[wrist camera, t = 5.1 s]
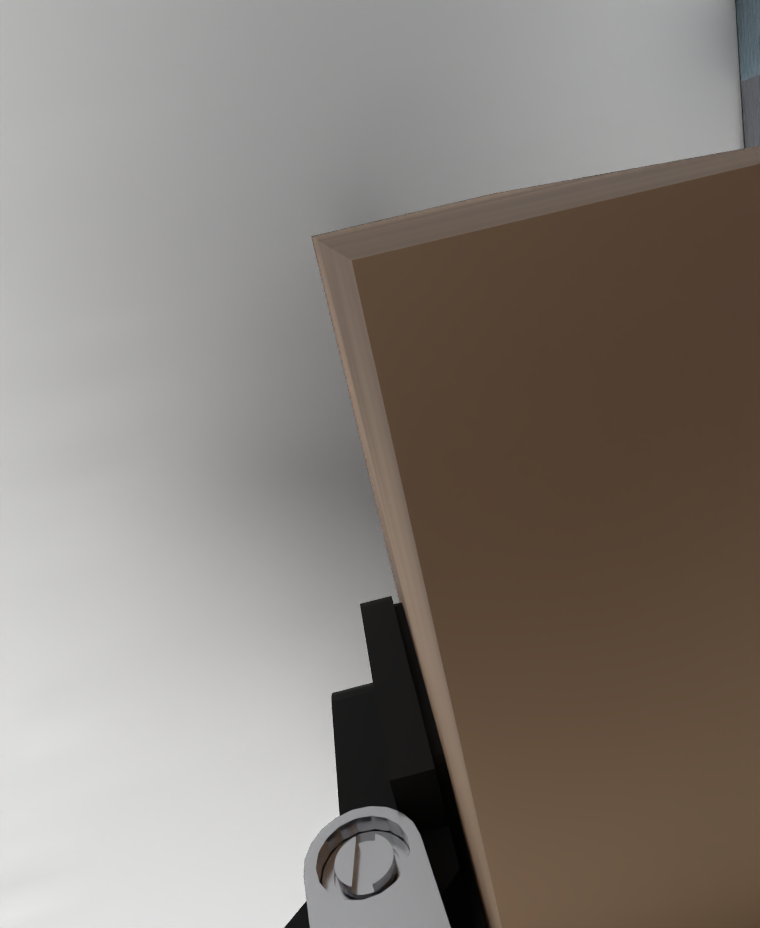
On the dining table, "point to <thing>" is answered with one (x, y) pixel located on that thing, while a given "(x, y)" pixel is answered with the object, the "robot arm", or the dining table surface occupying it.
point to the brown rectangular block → (577, 526)
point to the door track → (750, 67)
